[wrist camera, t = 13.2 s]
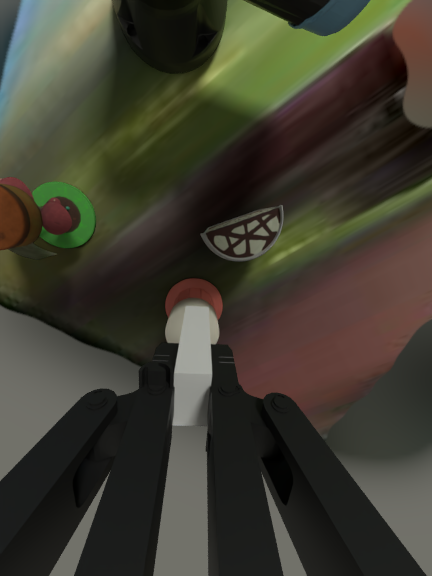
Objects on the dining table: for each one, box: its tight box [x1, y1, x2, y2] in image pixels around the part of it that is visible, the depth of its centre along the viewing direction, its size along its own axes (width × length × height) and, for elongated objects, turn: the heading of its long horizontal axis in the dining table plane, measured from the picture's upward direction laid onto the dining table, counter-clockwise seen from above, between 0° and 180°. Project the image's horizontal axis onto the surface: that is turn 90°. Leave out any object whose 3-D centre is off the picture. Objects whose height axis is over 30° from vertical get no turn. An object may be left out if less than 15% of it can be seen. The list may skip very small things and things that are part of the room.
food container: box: [201, 205, 283, 261], centre depth 38 cm, size 12×6×10 cm, turn 109°
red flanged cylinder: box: [165, 278, 223, 320], centre depth 43 cm, size 11×11×7 cm
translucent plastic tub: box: [0, 177, 96, 260], centre depth 33 cm, size 12×13×15 cm
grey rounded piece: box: [165, 298, 219, 344], centre depth 38 cm, size 8×8×7 cm
